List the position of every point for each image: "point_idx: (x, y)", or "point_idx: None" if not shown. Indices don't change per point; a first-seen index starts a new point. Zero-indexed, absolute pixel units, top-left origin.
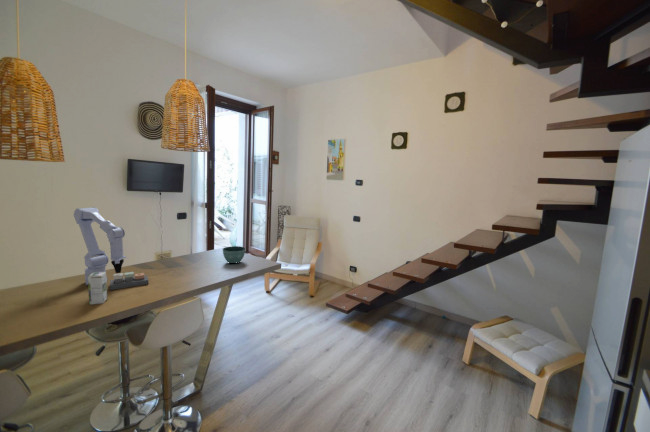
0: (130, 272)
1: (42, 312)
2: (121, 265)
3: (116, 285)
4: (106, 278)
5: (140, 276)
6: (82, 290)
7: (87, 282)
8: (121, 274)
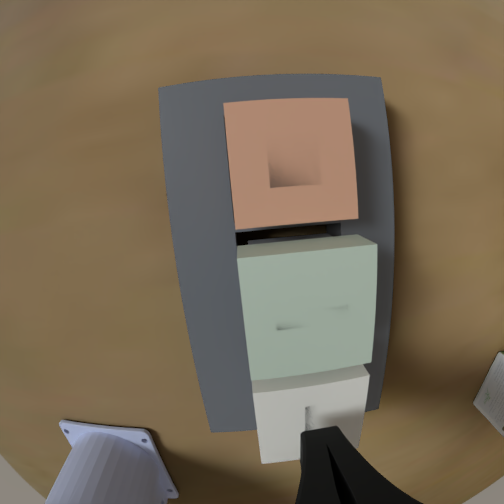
0: (271, 302)
1: (451, 488)
2: (413, 502)
3: (382, 366)
4: (79, 427)
5: (350, 148)
6: (272, 494)
7: (165, 499)
8: (322, 399)
